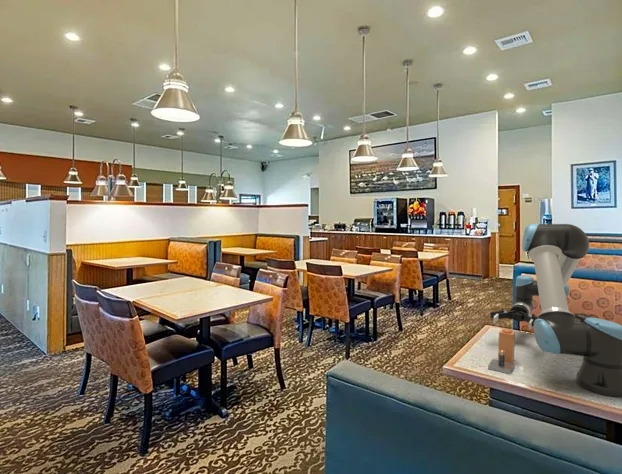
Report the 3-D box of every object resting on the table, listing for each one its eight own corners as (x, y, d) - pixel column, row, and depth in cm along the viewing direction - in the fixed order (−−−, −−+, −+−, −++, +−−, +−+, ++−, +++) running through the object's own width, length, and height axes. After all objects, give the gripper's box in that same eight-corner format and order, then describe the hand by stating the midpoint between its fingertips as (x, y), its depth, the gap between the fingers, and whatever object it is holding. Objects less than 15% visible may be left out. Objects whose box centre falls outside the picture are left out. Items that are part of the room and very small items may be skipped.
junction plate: (514, 367, 149) (515, 349, 148) (510, 374, 142) (511, 356, 142) (492, 362, 154) (493, 345, 153) (488, 368, 147) (488, 351, 147)
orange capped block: (514, 359, 156) (515, 329, 155) (511, 363, 152) (512, 332, 151) (500, 357, 159) (501, 327, 158) (498, 360, 155) (499, 330, 154)
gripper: (550, 324, 172) (544, 337, 156) (491, 315, 188) (480, 326, 171) (551, 308, 172) (545, 319, 155) (491, 300, 187) (480, 309, 170)
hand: (511, 323), depth 163 cm, fingers open, 13 cm apart
